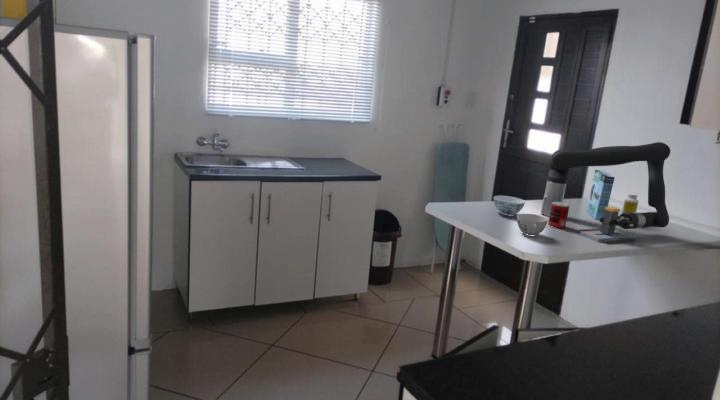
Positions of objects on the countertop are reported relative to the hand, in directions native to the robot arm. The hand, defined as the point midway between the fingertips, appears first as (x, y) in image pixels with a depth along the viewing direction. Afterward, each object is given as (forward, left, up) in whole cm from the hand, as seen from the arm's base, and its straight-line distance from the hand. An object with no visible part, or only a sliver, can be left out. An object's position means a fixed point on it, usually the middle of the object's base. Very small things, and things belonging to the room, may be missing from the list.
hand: (605, 221), depth 230 cm
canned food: (-19, +7, -8) cm, 22 cm away
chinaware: (-42, +14, -8) cm, 45 cm away
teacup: (-31, -18, -8) cm, 37 cm away
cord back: (-3, +7, -8) cm, 11 cm away
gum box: (+2, +45, -8) cm, 46 cm away
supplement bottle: (+19, +54, -8) cm, 58 cm away
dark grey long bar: (+7, -3, -8) cm, 11 cm away
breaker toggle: (+2, +2, -5) cm, 6 cm away
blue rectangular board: (+2, +2, -8) cm, 8 cm away
